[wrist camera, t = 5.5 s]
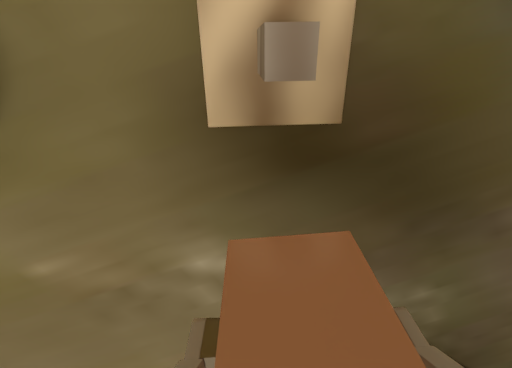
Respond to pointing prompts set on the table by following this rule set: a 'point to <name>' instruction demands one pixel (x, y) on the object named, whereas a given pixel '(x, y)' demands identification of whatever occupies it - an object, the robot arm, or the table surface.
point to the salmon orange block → (307, 307)
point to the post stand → (275, 60)
